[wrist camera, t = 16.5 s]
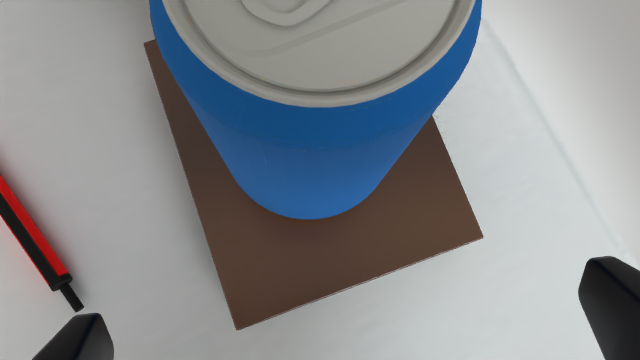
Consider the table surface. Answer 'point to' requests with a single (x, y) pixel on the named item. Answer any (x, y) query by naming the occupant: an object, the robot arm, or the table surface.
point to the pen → (36, 245)
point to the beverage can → (314, 87)
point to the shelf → (315, 220)
